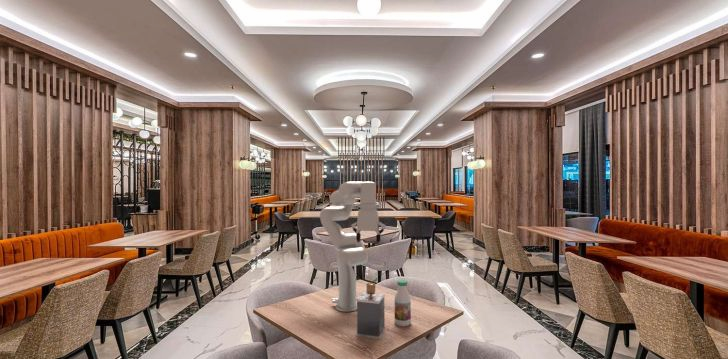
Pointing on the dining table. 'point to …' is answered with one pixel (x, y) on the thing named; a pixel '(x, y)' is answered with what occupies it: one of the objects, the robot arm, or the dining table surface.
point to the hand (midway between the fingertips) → (368, 242)
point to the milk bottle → (402, 305)
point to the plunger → (370, 288)
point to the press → (370, 315)
